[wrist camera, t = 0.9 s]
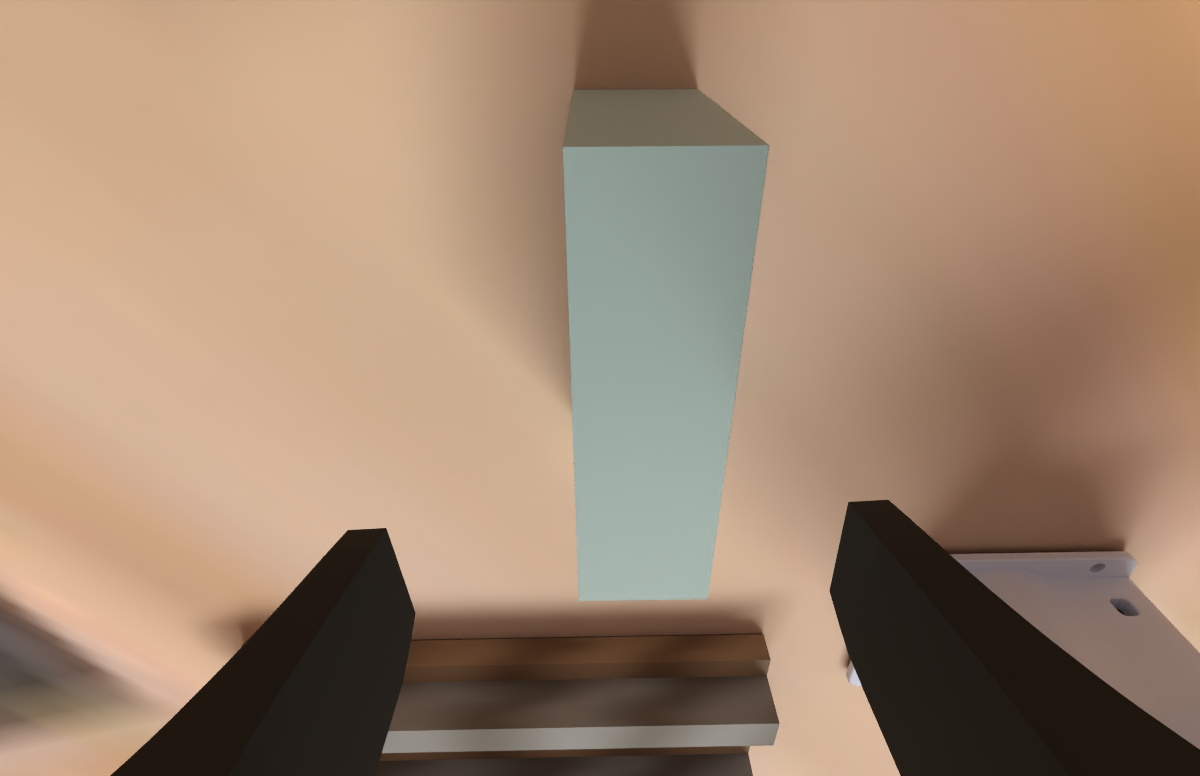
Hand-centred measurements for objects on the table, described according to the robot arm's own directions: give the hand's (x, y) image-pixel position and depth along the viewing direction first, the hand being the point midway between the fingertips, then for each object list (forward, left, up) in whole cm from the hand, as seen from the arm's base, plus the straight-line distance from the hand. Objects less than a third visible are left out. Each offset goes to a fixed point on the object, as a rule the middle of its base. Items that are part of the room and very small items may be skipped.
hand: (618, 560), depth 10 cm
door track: (+4, +20, -9) cm, 23 cm away
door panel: (-1, -1, -10) cm, 10 cm away
